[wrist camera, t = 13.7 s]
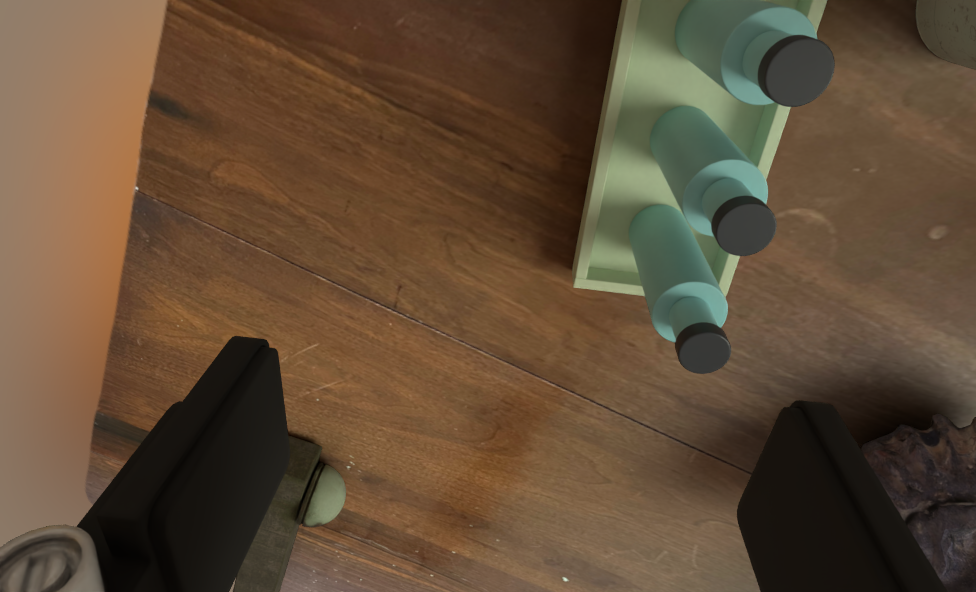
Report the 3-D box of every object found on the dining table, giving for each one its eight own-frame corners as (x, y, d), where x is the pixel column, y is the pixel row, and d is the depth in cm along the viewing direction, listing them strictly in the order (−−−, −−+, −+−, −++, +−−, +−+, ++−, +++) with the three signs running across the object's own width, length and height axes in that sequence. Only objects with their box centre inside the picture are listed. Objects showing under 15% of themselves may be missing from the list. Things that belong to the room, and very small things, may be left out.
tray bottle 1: (684, -14, 34) (763, 9, 22) (754, -7, 34) (875, 21, 22) (667, 59, 36) (730, 120, 24) (733, 67, 36) (832, 132, 24)
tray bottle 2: (657, 102, 38) (712, 181, 25) (721, 109, 38) (809, 192, 25) (643, 164, 40) (687, 265, 27) (704, 171, 40) (777, 276, 27)
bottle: (635, 200, 41) (673, 314, 28) (693, 207, 41) (758, 324, 28) (623, 253, 43) (654, 380, 30) (679, 259, 43) (733, 391, 30)
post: (304, 617, 72) (362, 453, 56) (286, 667, 67) (344, 502, 51) (211, 590, 70) (244, 415, 55) (186, 639, 66) (214, 461, 50)
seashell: (1031, 447, 49) (845, 371, 52) (1183, 468, 37) (926, 366, 40) (946, 675, 48) (759, 583, 51) (1073, 777, 35) (816, 647, 38)
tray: (634, -67, 34) (640, -68, 32) (823, -47, 34) (843, -46, 31) (571, 270, 45) (573, 287, 43) (714, 288, 44) (723, 306, 42)
